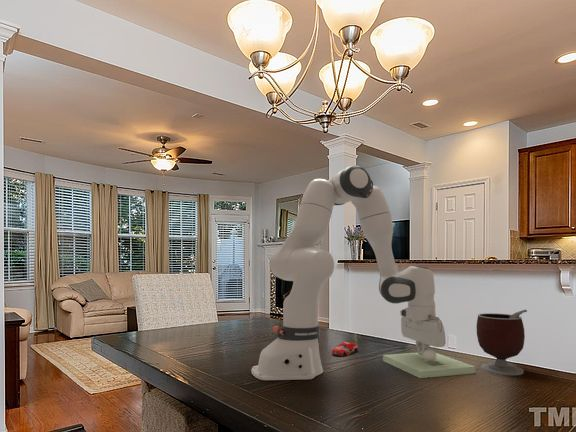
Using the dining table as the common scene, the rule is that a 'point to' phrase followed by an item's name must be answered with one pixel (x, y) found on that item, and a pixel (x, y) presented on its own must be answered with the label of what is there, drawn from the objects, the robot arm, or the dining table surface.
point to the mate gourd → (501, 340)
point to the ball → (429, 355)
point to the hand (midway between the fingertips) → (423, 355)
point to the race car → (345, 349)
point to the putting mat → (428, 365)
